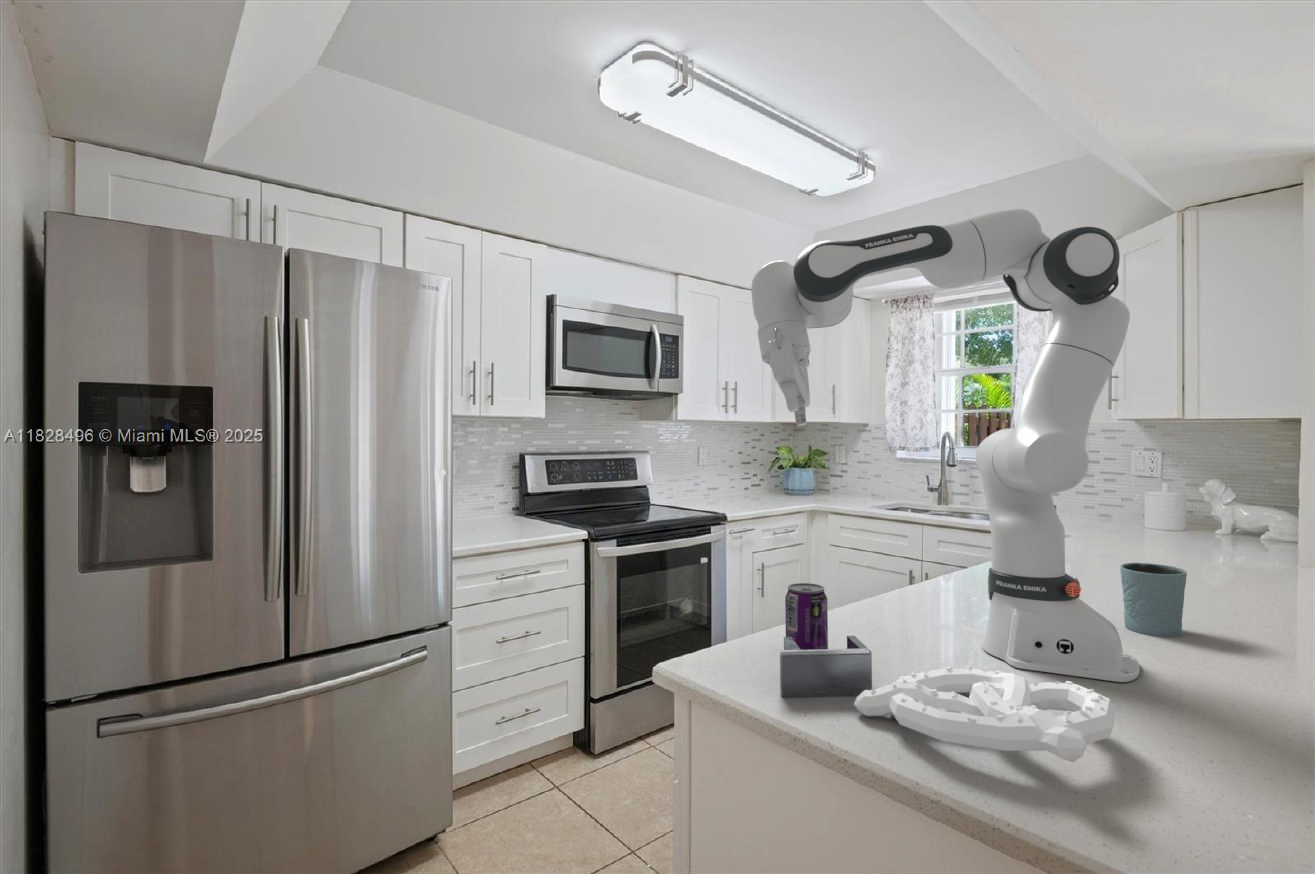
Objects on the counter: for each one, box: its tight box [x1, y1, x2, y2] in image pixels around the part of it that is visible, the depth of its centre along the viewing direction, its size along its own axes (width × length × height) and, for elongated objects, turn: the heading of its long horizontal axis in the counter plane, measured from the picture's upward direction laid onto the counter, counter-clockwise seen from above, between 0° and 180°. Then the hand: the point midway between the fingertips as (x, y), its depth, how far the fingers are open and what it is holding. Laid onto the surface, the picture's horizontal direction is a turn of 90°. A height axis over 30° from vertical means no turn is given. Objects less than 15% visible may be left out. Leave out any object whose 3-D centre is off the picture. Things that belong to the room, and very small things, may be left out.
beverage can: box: [784, 582, 829, 650], centre depth 109 cm, size 7×7×12 cm
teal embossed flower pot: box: [1119, 562, 1188, 638], centre depth 121 cm, size 10×10×12 cm
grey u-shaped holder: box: [779, 635, 873, 698], centre depth 97 cm, size 9×14×7 cm, turn 92°
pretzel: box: [853, 665, 1117, 763], centre depth 81 cm, size 28×24×6 cm
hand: (797, 417), depth 111 cm, fingers open, 8 cm apart
